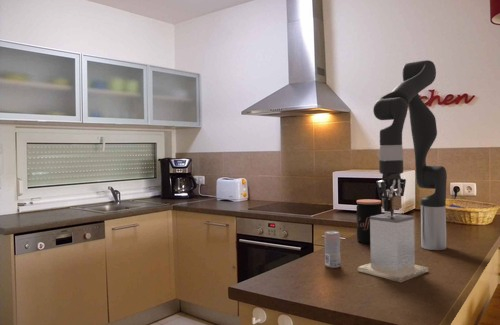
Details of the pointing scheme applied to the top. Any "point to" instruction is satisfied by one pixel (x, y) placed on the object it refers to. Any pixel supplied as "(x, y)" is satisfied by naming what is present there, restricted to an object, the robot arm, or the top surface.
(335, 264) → the energy drink
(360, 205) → the coffee jar
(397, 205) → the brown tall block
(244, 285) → the top surface
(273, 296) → the top surface
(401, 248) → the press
